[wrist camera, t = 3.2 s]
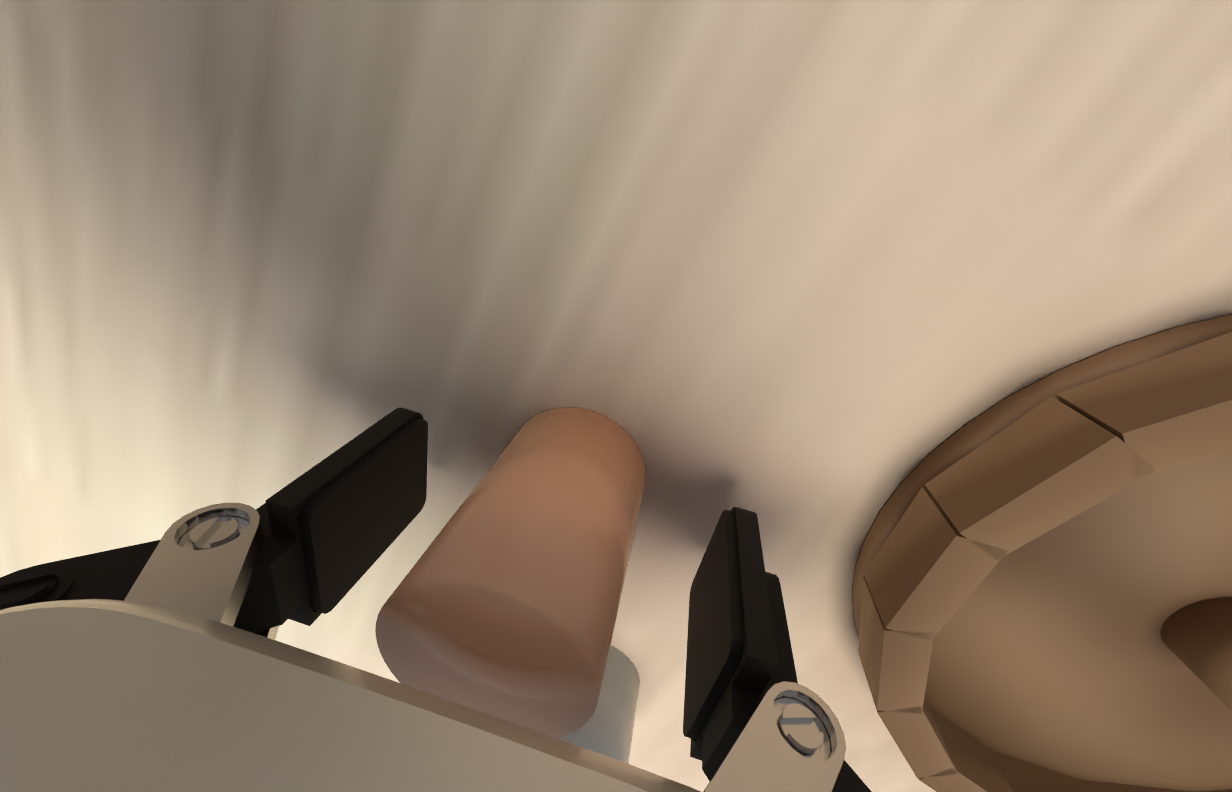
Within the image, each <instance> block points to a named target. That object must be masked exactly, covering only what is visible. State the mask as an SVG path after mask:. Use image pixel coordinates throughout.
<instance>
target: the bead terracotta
mask: <svg viewBox="0 0 1232 792" xmlns="http://www.w3.org/2000/svg"><path fill="white" fill-rule="evenodd" d="M645 482H646V469H645V463H644V459H643V456H642V454H641V452H640V449H639V448H638V446H637V444H636V443H635V441H634V440H633V439H632V437H631V436H630V435H629V434H628V433H627V432H626V431H625V430H624V429H623V428H622V427H621V426H619V425H618V424H617V423H615V422H614V421H612V420H611V419H609V418H607V417H605V416H603V415H601V414H599V413H596V412H593V411H591V410H586V409H582V408H574V407H561V408H554V409H550V410H547V411H544V412H542V413H539V414H537V415H536V416H534V417H532V418H531V419H530V420H529V421H527V422H526V423H525V424H524V425H523V427H522V428H521V429H520V430H519V432H518V433H517V434H516V435H515V437H514V438H513V439H512V441H511V442H510V443H509V444H508V446H507V447H506V448H505V450H504V451H503V452H502V453H501V455H500V456H499V457H498V459H497V460H496V461H495V462H494V464H493V465H492V466H491V468H490V469H489V470H488V471H487V473H486V474H485V475H484V477H483V478H482V479H481V480H480V482H479V483H478V484H477V486H476V487H475V488H474V489H473V491H472V492H471V493H470V495H469V496H468V497H467V498H466V500H465V501H464V502H463V504H462V505H461V506H460V507H459V509H458V510H457V511H456V513H455V514H454V515H453V516H452V518H451V519H450V520H449V522H448V523H447V524H446V525H445V527H444V528H443V529H442V531H441V532H440V533H439V534H438V536H437V537H436V538H435V540H434V541H433V542H432V543H431V545H430V546H429V547H428V549H427V550H426V551H425V552H424V554H423V555H422V556H421V558H420V559H419V560H418V561H417V563H416V564H415V565H414V567H413V568H412V569H411V570H410V572H409V573H408V574H407V576H406V577H405V578H404V579H403V581H402V582H401V583H400V585H399V586H398V587H397V588H396V590H395V591H394V592H393V594H392V595H391V596H390V598H389V599H388V600H387V601H386V603H385V604H384V605H383V607H382V608H381V610H380V612H379V614H378V618H377V621H376V639H377V644H378V647H379V650H380V653H381V655H382V657H383V659H384V661H385V663H386V664H387V666H388V667H389V669H390V671H391V672H392V673H393V674H394V676H395V677H396V678H397V679H398V681H399V682H400V683H401V684H404V685H406V686H409V687H412V688H415V689H418V690H421V691H424V692H427V693H429V694H432V695H435V696H438V697H441V698H444V699H447V700H450V701H452V702H455V703H458V704H461V705H464V706H467V707H470V708H472V709H475V710H478V711H481V712H484V713H487V714H490V715H492V716H495V717H498V718H501V719H504V720H507V721H509V722H512V723H515V724H518V725H521V726H524V727H526V728H529V729H532V730H535V731H538V732H540V733H543V734H546V735H549V736H552V737H555V738H560V737H563V736H566V735H569V734H571V733H573V732H575V731H577V730H578V729H580V728H581V727H582V726H584V725H585V724H586V723H587V722H588V721H589V720H590V718H591V717H592V716H593V714H594V712H595V710H596V708H597V704H598V699H599V695H600V690H601V685H602V681H603V676H604V672H605V667H606V662H607V658H608V653H609V648H610V644H611V639H612V635H613V630H614V625H615V621H616V616H617V611H618V607H619V602H620V598H621V593H622V588H623V584H624V579H625V574H626V570H627V565H628V561H629V556H630V551H631V547H632V542H633V537H634V533H635V528H636V524H637V519H638V514H639V510H640V505H641V501H642V496H643V491H644V487H645Z"/></svg>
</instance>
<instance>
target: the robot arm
mask: <svg viewBox="0 0 1232 792" xmlns="http://www.w3.org/2000/svg"><path fill="white" fill-rule="evenodd" d="M427 444H428V423H427V421H425V420H423V416H422V414H420V413H418V412H414V411H411V410H408V409H404V408H397V409H395V410H394V411H392V412H391V413H390V414H388V415H387V416H385V417H384V418H382V419H381V420H380V421H378V422H377V423H375V424H374V425H372V426H371V427H370V428H368V429H367V430H365V431H364V432H363V433H361V434H360V435H358V436H357V437H355V438H354V439H353V440H351V441H350V442H348V443H347V444H345V445H344V446H343V447H341V448H340V449H338V450H337V451H335V452H334V453H333V454H331V455H330V456H328V457H327V458H326V459H324V460H323V461H321V462H320V463H318V464H317V465H316V466H314V467H313V468H311V469H310V470H308V471H307V472H306V473H304V474H303V475H301V476H300V477H299V478H297V479H296V480H294V481H293V482H291V483H290V484H289V485H287V486H286V487H284V488H283V489H281V490H280V491H279V492H277V493H276V494H274V495H273V496H271V497H270V498H269V499H267V500H266V503H265V504H263V505H262V506H261V507H259V508H258V509H254V508H253V507H251V506H249V505H245V504H241V503H222V504H215V505H210V506H207V507H204V508H200V509H197V510H195V511H193V512H191V513H189V514H187V515H185V516H183V517H182V518H180V519H179V520H177V521H176V522H174V523H173V524H172V525H171V527H170V528H169V529H168V530H167V531H166V532H165V534H164V536H163V537H162V539H161V540H158V541H153V542H148V543H143V544H138V545H133V546H128V547H124V548H119V549H114V550H109V551H104V552H99V553H94V554H89V555H85V556H80V557H75V558H70V559H65V560H60V561H55V562H51V563H46V564H41V565H37V566H33V567H29V568H26V569H22V570H19V571H16V572H14V573H11V574H9V575H6V576H4V577H1V578H0V792H700V791H698V790H695V789H693V788H691V787H688V786H686V785H683V784H680V783H678V782H675V781H672V780H670V779H667V778H664V777H662V776H659V775H656V774H654V773H651V772H648V771H646V770H643V769H640V768H638V767H635V766H632V765H630V764H627V763H624V762H622V761H619V760H616V759H614V758H611V757H608V756H605V755H602V754H600V753H597V752H594V751H591V750H588V749H586V748H583V747H580V746H577V745H574V744H571V743H569V742H566V741H563V740H560V739H557V738H555V737H552V736H549V735H546V734H543V733H540V732H538V731H535V730H532V729H529V728H526V727H524V726H521V725H518V724H515V723H512V722H509V721H507V720H504V719H501V718H498V717H495V716H492V715H490V714H487V713H484V712H481V711H478V710H475V709H472V708H470V707H467V706H464V705H461V704H458V703H455V702H452V701H450V700H447V699H444V698H441V697H438V696H435V695H432V694H429V693H427V692H424V691H421V690H418V689H415V688H412V687H409V686H406V685H404V684H401V683H398V682H395V681H392V680H389V679H386V678H383V677H381V676H378V675H375V674H372V673H369V672H366V671H363V670H360V669H357V668H354V667H351V666H349V665H346V664H343V663H340V662H337V661H334V660H331V659H328V658H325V657H322V656H319V655H316V654H313V653H311V652H308V651H305V650H302V649H299V648H296V647H293V646H290V645H287V644H284V643H281V642H278V641H275V638H276V635H277V631H278V627H279V625H282V624H283V623H284V622H285V621H286V620H287V619H291V620H294V621H297V622H300V623H303V624H306V625H308V626H310V625H311V624H312V623H313V622H314V621H315V620H316V619H317V618H318V617H319V616H320V614H321V613H324V614H325V613H328V612H330V611H331V610H332V609H333V608H334V607H335V606H336V605H337V604H338V603H339V601H340V600H341V599H342V598H343V597H344V596H345V595H346V594H347V592H348V591H349V590H350V589H351V588H352V587H353V586H354V585H355V584H356V582H357V581H358V580H359V579H360V578H361V577H362V576H363V575H364V574H365V572H366V571H367V570H368V569H369V568H370V567H371V566H372V565H373V563H374V562H375V561H376V560H377V559H378V558H379V557H380V556H381V555H382V553H383V552H384V551H385V550H386V549H387V548H388V547H389V546H390V545H391V543H392V542H393V541H394V540H395V539H396V538H397V537H398V536H399V535H400V533H401V532H402V531H403V530H404V529H405V528H406V527H407V526H408V524H409V523H410V522H411V521H412V520H413V519H414V518H415V517H416V516H417V514H418V513H419V512H420V511H421V510H422V508H423V506H424V504H425V501H426V486H427ZM683 733H684V736H686V737H689V738H691V752H690V757H693V758H696V759H699V760H702V770H703V771H704V773H705V774H706V776H707V778H708V779H709V781H710V782H709V784H708V785H707V787H706V789H705V790H704V792H871V791H870V789H869V788H868V787H867V786H866V785H865V784H864V782H863V781H862V780H861V779H860V778H859V777H858V775H857V774H856V773H855V772H854V771H853V770H852V768H851V767H850V766H849V765H848V764H847V763H846V761H845V760H844V757H845V751H846V744H845V738H844V733H843V731H842V728H841V726H840V723H839V721H838V719H837V718H836V716H835V715H834V713H833V712H832V710H831V709H830V707H829V706H828V705H827V704H826V703H825V702H824V701H823V700H822V699H821V698H820V697H819V696H818V695H817V694H815V693H814V692H813V691H811V690H810V689H808V688H807V687H805V686H802V685H800V684H798V682H797V676H796V671H795V665H794V660H793V654H792V648H791V643H790V637H789V631H788V626H787V620H786V614H785V609H784V603H783V597H782V592H781V586H780V582H779V578H778V577H777V576H776V575H774V574H771V573H768V572H765V568H764V561H763V554H762V547H761V540H760V533H759V526H758V519H757V514H756V513H754V512H751V511H747V510H744V509H741V508H737V507H733V508H732V509H731V511H727V510H724V511H723V512H722V514H721V516H720V519H719V521H718V523H717V526H716V528H715V531H714V533H713V535H712V538H711V540H710V542H709V545H708V547H707V549H706V552H705V554H704V556H703V559H702V561H701V563H700V566H699V568H698V571H697V573H696V575H695V578H694V580H693V583H692V586H691V591H690V601H689V621H688V641H687V661H686V681H685V701H684V721H683Z"/></svg>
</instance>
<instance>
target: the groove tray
mask: <svg viewBox="0 0 1232 792" xmlns="http://www.w3.org/2000/svg"><path fill="white" fill-rule="evenodd" d="M852 600H853V617H854V621H855V625H856V628H857V632H858V636H859V649H858V652H859V656H860V659H861V662H862V665H863V668H864V672H865V675H866V678H867V681H868V684H869V687H870V690H871V693H872V697H873V700H874V703H875V706H876V709H877V712H878V714H879V716H880V717H881V719H882V721H883V722H884V724H885V726H886V727H887V729H888V731H889V732H890V734H891V735H892V737H893V739H894V740H895V742H896V744H897V745H898V747H899V749H900V750H901V752H902V754H903V755H904V757H905V759H906V760H907V762H908V763H909V765H910V767H911V768H912V770H913V772H914V773H915V775H916V777H917V778H919V780H920V781H922V782H923V783H925V784H926V785H928V786H929V787H931V788H932V789H934V790H935V791H937V792H1232V314H1230V315H1226V316H1221V317H1217V318H1213V319H1208V320H1204V321H1200V322H1195V323H1191V324H1187V325H1183V326H1178V327H1175V328H1172V329H1169V330H1166V331H1163V332H1160V333H1156V334H1153V335H1150V336H1147V337H1144V338H1141V339H1138V340H1135V341H1132V342H1129V343H1125V344H1122V345H1119V346H1116V347H1113V348H1111V349H1109V350H1106V351H1104V352H1101V353H1099V354H1097V355H1094V356H1092V357H1090V358H1087V359H1085V360H1082V361H1080V362H1078V363H1075V364H1073V365H1071V366H1068V367H1066V368H1063V369H1061V370H1059V371H1056V372H1055V373H1053V374H1051V375H1049V376H1047V377H1045V378H1043V379H1041V380H1039V381H1037V382H1036V383H1034V384H1032V385H1030V386H1028V387H1026V388H1024V389H1022V390H1020V391H1019V392H1017V393H1015V394H1013V395H1011V396H1009V397H1007V398H1006V399H1004V400H1003V401H1001V402H1000V403H998V404H997V405H995V406H993V407H992V408H990V409H989V410H987V411H986V412H984V413H983V414H981V415H980V416H978V417H977V418H975V419H974V420H972V421H971V422H969V423H968V424H966V425H965V426H963V427H962V428H961V429H960V430H958V431H957V432H956V433H955V434H953V435H952V436H951V437H950V438H949V439H947V440H946V441H945V442H944V443H942V444H941V445H940V446H939V447H938V448H936V449H935V450H934V451H933V452H931V453H930V454H929V455H928V456H927V457H926V458H925V459H924V460H923V461H922V462H921V463H920V464H919V465H918V466H917V467H916V468H915V469H914V470H913V471H912V472H911V474H910V475H909V476H908V477H907V478H906V479H905V480H904V481H903V482H902V483H901V484H900V485H899V487H898V488H897V489H896V491H895V492H894V493H893V495H892V496H891V497H890V499H889V500H888V501H887V503H886V504H885V505H884V507H883V508H882V509H881V511H880V512H879V514H878V516H877V518H876V520H875V522H874V523H873V525H872V527H871V529H870V531H869V533H868V535H867V536H866V538H865V541H864V544H863V546H862V549H861V552H860V555H859V558H858V561H857V564H856V568H855V575H854V582H853V589H852Z"/></svg>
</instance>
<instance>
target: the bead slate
mask: <svg viewBox="0 0 1232 792" xmlns="http://www.w3.org/2000/svg"><path fill="white" fill-rule="evenodd" d="M639 683H640V680H639V675H638V672H637V670H636V668H635V666H634V665H633V663H632V662H631V661H630V660H629V659H628V658H627V657H626V656H625V655H624V654H623V653H622V652H620V651H619V650H617V649H616V648H614V647H612V646H611V645H610V648H609V653H608V658H607V662H606V667H605V672H604V676H603V681H602V685H601V690H600V695H599V699H598V704H597V708H596V710H595V712H594V714H593V716H592V717H591V718H590V720H589V721H588V722H587V723H586V724H585V725H584V726H582V727H581V728H580V729H578V730H577V731H575V732H573V733H571V734H569V735H566V736H563V737H560V738H557V739H560V740H563V741H566V742H569V743H571V744H574V745H577V746H580V747H583V748H586V749H588V750H591V751H594V752H597V753H600V754H602V755H605V756H608V757H611V758H614V759H616V760H619V761H622V762H624V763H627V764H628V762H629V755H630V748H631V741H632V734H633V727H634V720H635V713H636V705H637V698H638V691H639Z"/></svg>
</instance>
